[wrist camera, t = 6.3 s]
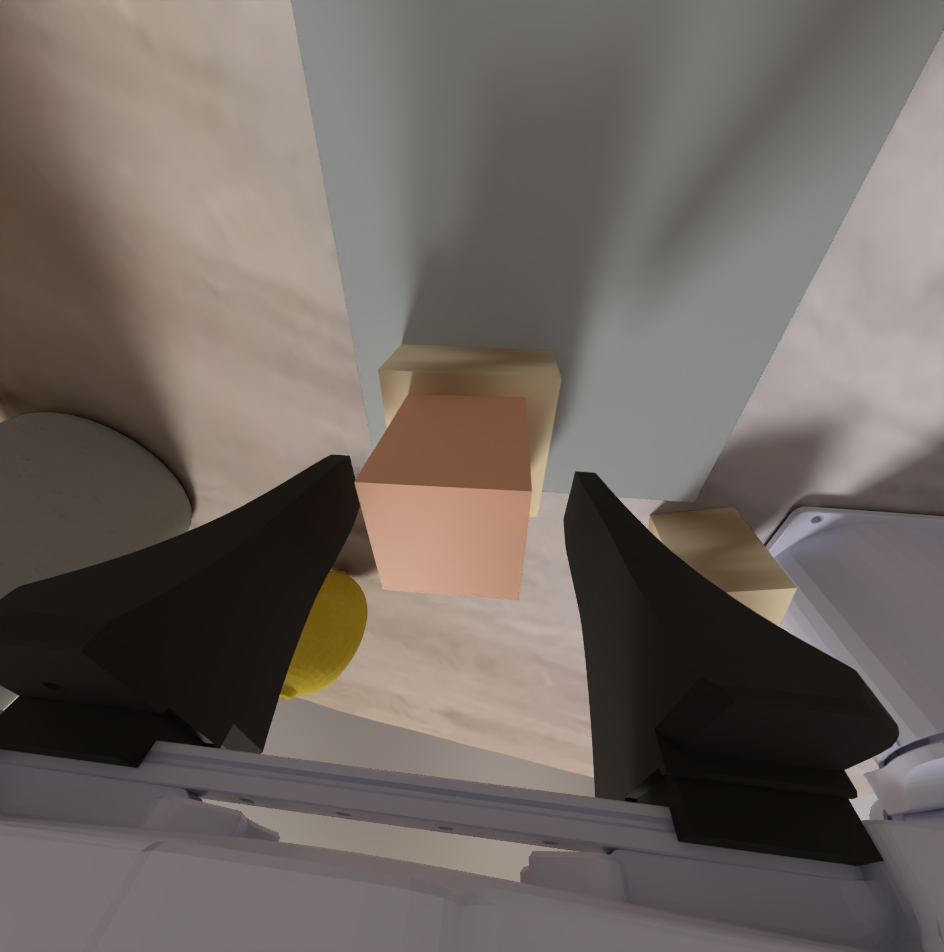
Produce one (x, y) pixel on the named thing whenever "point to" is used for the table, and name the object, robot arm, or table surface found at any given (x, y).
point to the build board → (601, 194)
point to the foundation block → (480, 387)
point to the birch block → (727, 557)
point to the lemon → (327, 636)
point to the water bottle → (78, 499)
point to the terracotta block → (450, 496)
